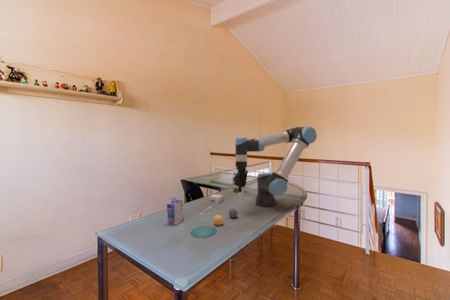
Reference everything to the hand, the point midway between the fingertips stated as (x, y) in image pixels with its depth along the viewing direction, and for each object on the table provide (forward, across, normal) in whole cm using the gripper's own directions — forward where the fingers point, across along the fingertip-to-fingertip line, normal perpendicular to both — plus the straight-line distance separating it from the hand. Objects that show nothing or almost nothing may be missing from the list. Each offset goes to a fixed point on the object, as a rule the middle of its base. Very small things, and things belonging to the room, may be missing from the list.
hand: (241, 196), depth 144 cm
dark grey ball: (+9, +9, 0) cm, 13 cm away
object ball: (+9, +23, 0) cm, 25 cm away
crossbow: (+13, +11, -22) cm, 28 cm away
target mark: (+12, +35, 0) cm, 37 cm away
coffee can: (+11, -42, -33) cm, 55 cm away
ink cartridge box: (+12, +36, -23) cm, 44 cm away
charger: (+12, -13, -32) cm, 37 cm away
